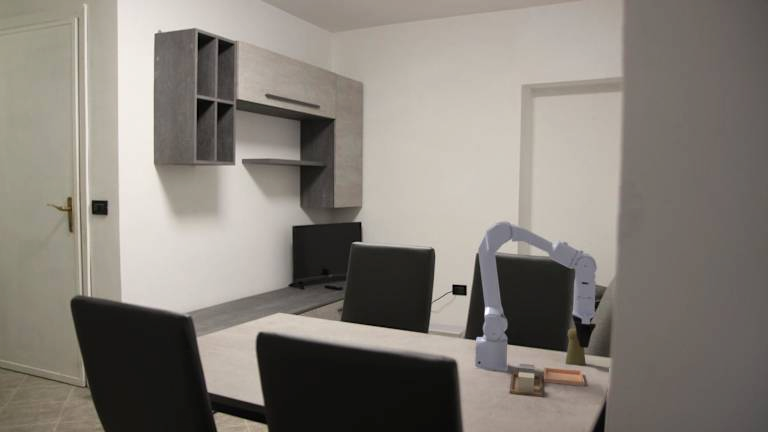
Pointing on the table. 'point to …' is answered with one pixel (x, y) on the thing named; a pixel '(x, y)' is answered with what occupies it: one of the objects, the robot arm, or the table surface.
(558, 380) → the terracotta dish
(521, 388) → the cream pedestal cube
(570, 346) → the cork
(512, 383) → the walnut tray
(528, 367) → the slate gray cube
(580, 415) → the table surface
